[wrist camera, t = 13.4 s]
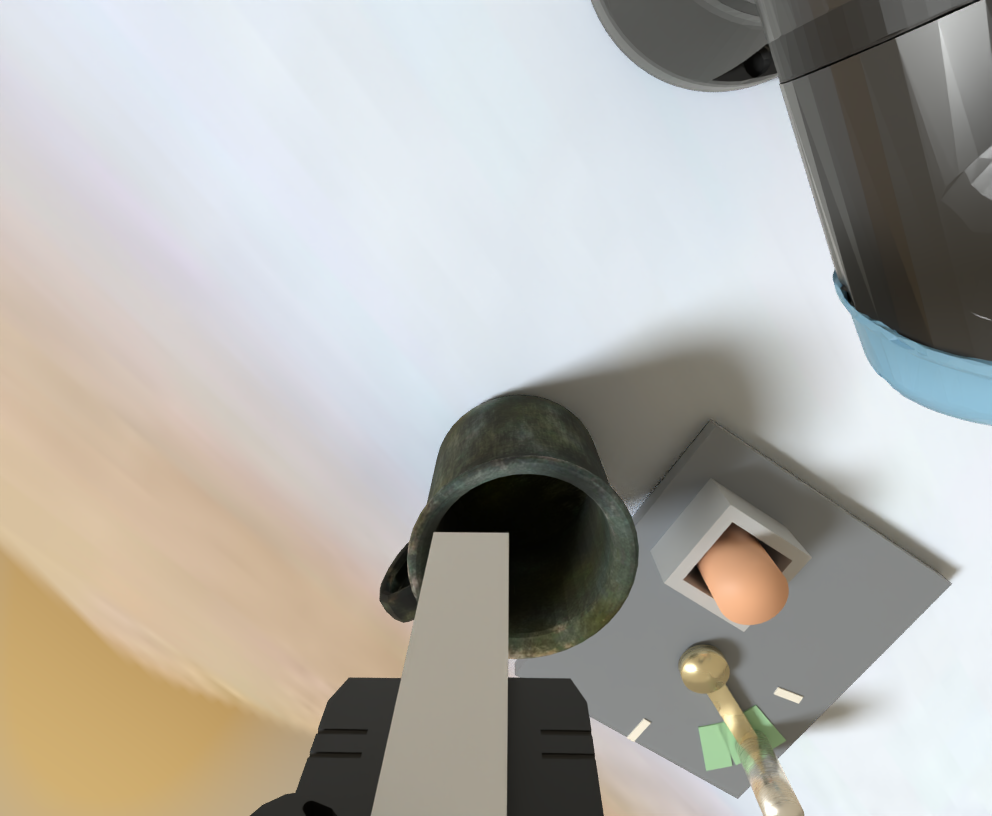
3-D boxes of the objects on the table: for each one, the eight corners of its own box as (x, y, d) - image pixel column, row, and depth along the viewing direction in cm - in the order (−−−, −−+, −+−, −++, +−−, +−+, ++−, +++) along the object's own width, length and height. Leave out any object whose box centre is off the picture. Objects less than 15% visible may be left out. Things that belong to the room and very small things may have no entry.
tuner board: (710, 419, 43) (737, 448, 38) (940, 574, 46) (991, 618, 42) (514, 663, 49) (516, 714, 44) (732, 785, 52) (756, 845, 47)
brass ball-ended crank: (670, 657, 47) (694, 723, 41) (712, 636, 46) (742, 700, 40) (738, 764, 49) (769, 839, 44) (778, 745, 49) (816, 819, 43)
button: (719, 509, 42) (748, 550, 37) (769, 541, 43) (803, 585, 38) (679, 557, 43) (701, 603, 38) (728, 587, 44) (756, 636, 39)
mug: (634, 487, 44) (681, 590, 33) (450, 594, 47) (435, 725, 35) (544, 351, 42) (562, 412, 30) (354, 473, 44) (304, 572, 33)
